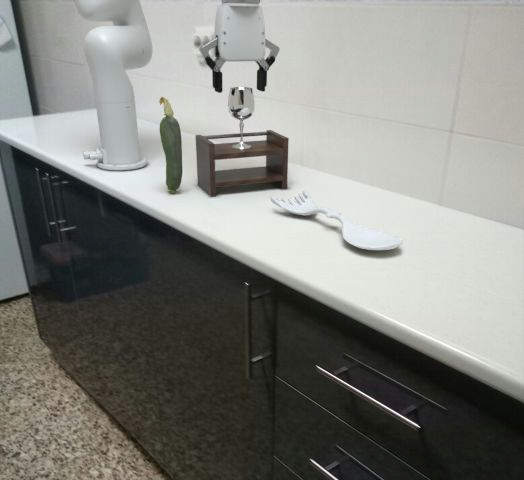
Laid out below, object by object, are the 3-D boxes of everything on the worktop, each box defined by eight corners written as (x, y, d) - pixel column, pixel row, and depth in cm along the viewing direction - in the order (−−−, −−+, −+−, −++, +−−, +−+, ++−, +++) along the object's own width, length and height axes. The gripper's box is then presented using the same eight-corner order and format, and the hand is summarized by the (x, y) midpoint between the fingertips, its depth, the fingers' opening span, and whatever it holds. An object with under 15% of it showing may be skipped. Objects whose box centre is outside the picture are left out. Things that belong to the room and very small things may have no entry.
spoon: (304, 204, 123) (304, 188, 121) (412, 253, 100) (415, 233, 98) (268, 211, 119) (268, 194, 117) (372, 263, 96) (374, 243, 94)
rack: (210, 196, 128) (209, 143, 122) (197, 185, 135) (195, 135, 130) (287, 188, 134) (288, 138, 128) (270, 178, 142) (271, 129, 136)
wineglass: (251, 150, 127) (251, 90, 121) (225, 148, 128) (224, 89, 122) (256, 144, 132) (257, 87, 126) (232, 143, 133) (231, 86, 127)
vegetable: (187, 192, 130) (182, 96, 120) (179, 197, 127) (172, 99, 116) (169, 190, 131) (163, 94, 121) (160, 195, 128) (153, 97, 118)
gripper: (272, -2, 121) (270, 87, 130) (193, -4, 115) (195, 89, 124) (287, -1, 115) (283, 92, 124) (204, -4, 109) (206, 95, 118)
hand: (239, 91), depth 124 cm, fingers open, 9 cm apart
